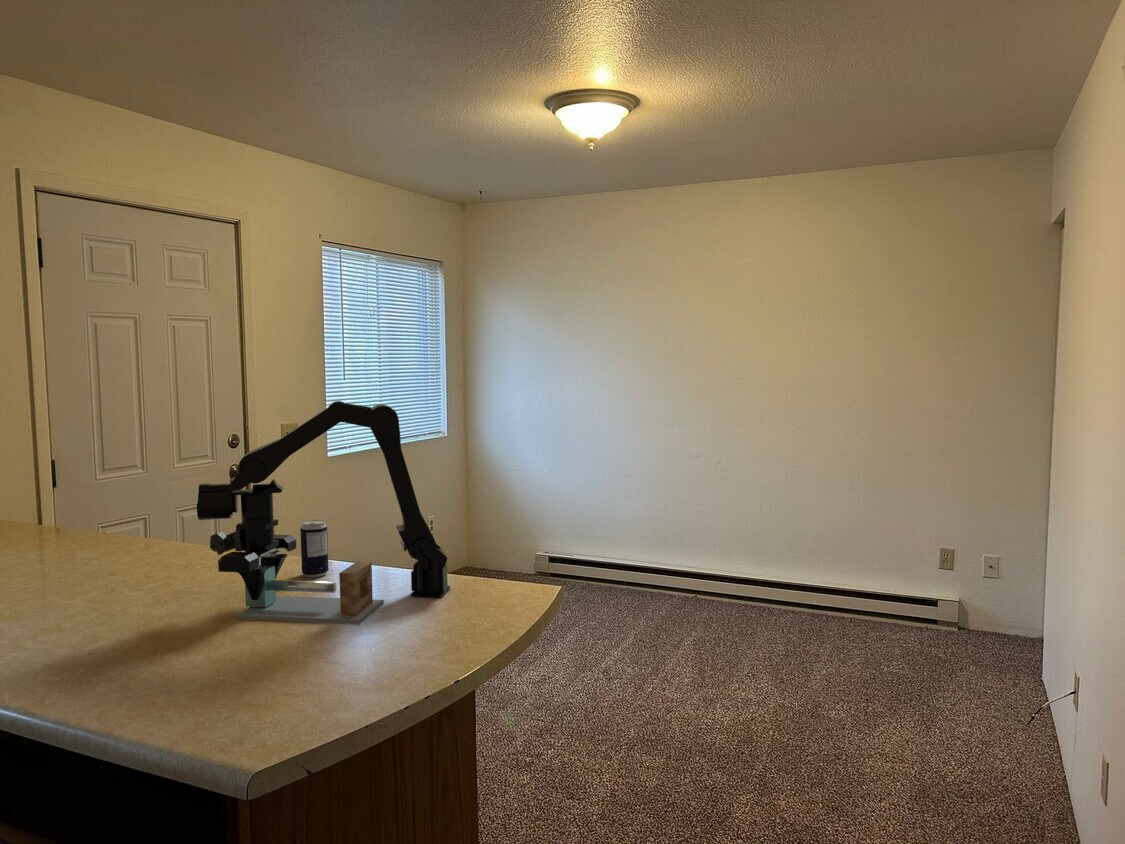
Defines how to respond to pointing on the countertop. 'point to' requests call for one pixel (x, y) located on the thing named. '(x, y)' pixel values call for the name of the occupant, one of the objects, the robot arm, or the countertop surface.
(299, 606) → the base board
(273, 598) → the green cube on rod
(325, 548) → the beverage can
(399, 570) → the countertop surface
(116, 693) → the countertop surface
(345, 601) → the square wooden collar
